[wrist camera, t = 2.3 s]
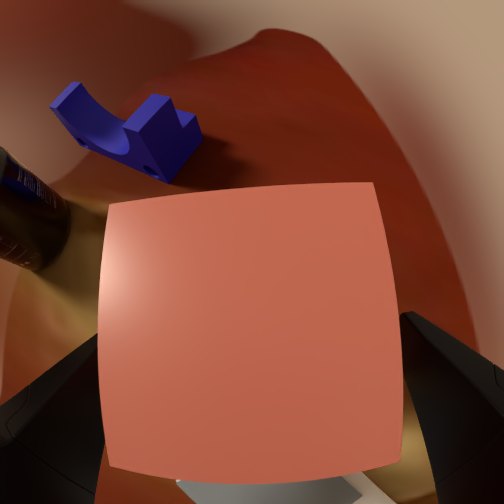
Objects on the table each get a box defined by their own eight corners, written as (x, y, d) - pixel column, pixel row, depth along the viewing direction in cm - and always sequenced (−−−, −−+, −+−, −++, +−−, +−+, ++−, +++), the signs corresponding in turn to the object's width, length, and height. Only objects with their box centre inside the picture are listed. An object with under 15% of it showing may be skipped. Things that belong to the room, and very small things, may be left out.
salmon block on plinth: (315, 385, 14) (413, 469, 3) (216, 390, 15) (99, 474, 3) (308, 289, 16) (382, 169, 5) (212, 295, 16) (100, 193, 5)
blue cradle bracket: (204, 141, 20) (185, 82, 15) (169, 185, 19) (137, 131, 14) (109, 112, 23) (84, 70, 17) (80, 145, 22) (48, 106, 16)
